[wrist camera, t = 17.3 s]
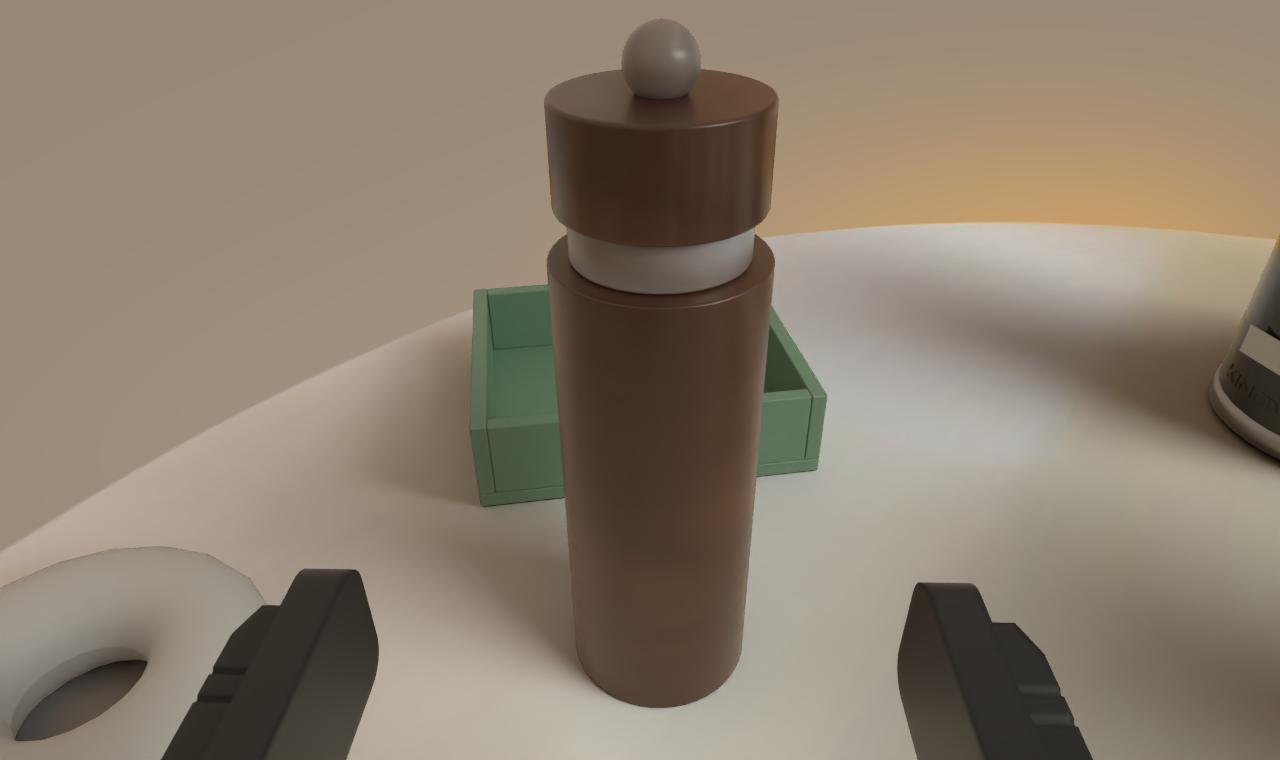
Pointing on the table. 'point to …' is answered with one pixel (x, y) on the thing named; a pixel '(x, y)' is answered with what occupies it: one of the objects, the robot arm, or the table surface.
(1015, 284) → the table surface
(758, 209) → the pepper mill
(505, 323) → the green shallow open box
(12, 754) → the donut
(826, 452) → the table surface
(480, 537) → the table surface
